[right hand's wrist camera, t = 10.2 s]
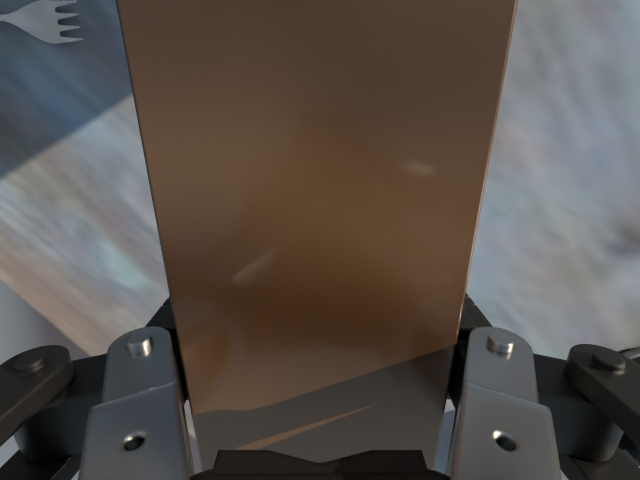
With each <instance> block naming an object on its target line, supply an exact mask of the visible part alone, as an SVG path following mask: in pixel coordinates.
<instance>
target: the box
mask: <svg viewBox="0 0 640 480" xmlns="http://www.w3.org/2000/svg"><path fill="white" fill-rule="evenodd" d="M116 3H117V9H118V14H119V20H120V25H121V31H122V36H123V42H124V47H125V53H126V58H127V64H128V69H129V75H130V80H131V86H132V91H133V97H134V102H135V108H136V113H137V118H138V124H139V129H140V135H141V140H142V146H143V151H144V157H145V162H146V168H147V173H148V179H149V184H150V190H151V195H152V201H153V206H154V212H155V217H156V223H157V228H158V234H159V239H160V244H161V250H162V255H163V261H164V266H165V272H166V277H167V283H168V288H169V294H170V299H171V305H172V310H173V316H174V321H175V327H176V332H177V338H178V343H179V349H180V354H181V360H182V365H183V370H184V376H185V381H186V387H187V392H188V398H189V403H190V409H191V414H192V420H193V425H194V431H195V436H196V442H197V447H198V453H199V458H200V464H201V469H202V472H203V471H206V470H209V469H213V466H214V463H215V459H216V456H217V453H218V450H270V451H274V452H278V453H282V454H286V455H289V456H293V457H297V458H301V459H305V460H309V461H312V462H317V463H323V462H328V461H331V460H335V459H339V458H343V457H347V456H351V455H354V454H358V453H362V452H366V451H370V450H422V453H423V456H424V459H425V463H426V466H427V469H431V470H434V466H435V460H436V455H437V449H438V444H439V438H440V432H441V427H442V421H443V416H444V410H445V404H446V399H447V393H448V388H449V382H450V377H451V371H452V365H453V360H454V354H455V349H456V343H457V338H458V332H459V326H460V321H461V315H462V310H463V304H464V298H465V293H466V287H467V282H468V276H469V271H470V265H471V259H472V254H473V248H474V243H475V237H476V232H477V226H478V220H479V215H480V209H481V204H482V198H483V192H484V187H485V181H486V176H487V170H488V165H489V159H490V153H491V148H492V142H493V137H494V131H495V126H496V120H497V114H498V109H499V103H500V98H501V92H502V86H503V81H504V75H505V70H506V64H507V59H508V53H509V47H510V42H511V36H512V31H513V25H514V20H515V14H516V8H517V3H518V0H116Z"/></svg>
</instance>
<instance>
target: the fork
mask: <svg viewBox="0 0 640 480" xmlns="http://www.w3.org/2000/svg"><path fill="white" fill-rule="evenodd" d="M75 2H77V1H76V0H66V1H54V0H39V1H35V2H32V3H30V4H28V5H26V6H24V7H22V8H20V9H18V10H16V11H14V12H12V13H9V14H0V21H5V22H9V23H11V24H14V25H16V26H17V27H19V28H21V29H23V30H24V31H26V32H28V33H29V34H31V35H33V36H34V37H36V38H38V39H40V40H42V41H44V42H47V43H51V44H58V43H67V42H74V41H79V40H83V38H70V37H62V36H60V32H62V31H66V30H72V29H77V28H81V26H69V25H59V24H58V23H57V21H58V20H59V19H64V18H69V17H73V16H77V15H79V14H78V13H57V12H56V11H55V8H57V7H60V6H64V5H68V4H72V3H75Z"/></svg>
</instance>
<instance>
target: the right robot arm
mask: <svg viewBox="0 0 640 480" xmlns="http://www.w3.org/2000/svg"><path fill="white" fill-rule="evenodd" d="M447 399H451V400H452V403H453V405H454V407H455V415H454V420H453V427H452V433H451V440H450V446H449V452H448V459H447V465H446V472H445V474H442V473H440V472H437V471H434V470H431V469H427V466H426V463H425V459H424V456H423V453H422V450H370V451H366V452H362V453H358V454H354V455H351V456H347V457H343V458H339V459H335V460H331V461H328V462H323V463H317V462H312V461H309V460H305V459H301V458H297V457H293V456H289V455H286V454H282V453H278V452H274V451H270V450H218V453H217V456H216V459H215V463H214V466H213V469H209V470H206V471H203V472H200V473H198V474H195V472H194V465H193V459H192V452H191V446H190V440H189V433H188V427H187V420H186V414H185V409H184V404H185V402H186V400H189V398H188V392H187V387H186V381H185V376H184V370H183V365H182V360H181V354H180V349H179V343H178V338H177V332H176V327H175V321H174V316H173V310H172V305H171V299H170V296H169V298H168V299H167V300H166V301H165V302H164V304H163V306H161V307H160V309H159V310H158V311H157V312H156V314H155V315H154V316H153V317H152V319H151V320H150V321H149V323H148V324H147V325H146V326H145V327H144V328H139V329H136V330H133V331H130V332H128V333H126V334H124V335H122V336H120V337H119V338H117V339H116V340H115V341H114V342H113V343H112V344H111V345H110V347H109V348H108V351H107V353H106V354H103V355H98V356H93V357H89V358H84V359H79V360H74V361H72V360H71V357H70V354H69V351H68V350H67V348H65V347H63V346H59V345H48V346H41V347H37V348H34V349H31V350H28V351H25V352H22V353H20V354H18V355H16V356H14V357H12V358H10V359H9V360H7V361H6V362H4V363H3V364H1V365H0V446H2V445H3V444H4V443H5V442H6V441H7V440H8V439H9V438H10V437H11V436H12V435H14V438H15V440H16V442H17V444H18V447H19V450H18V451H17V452H16V453H15V454H14V455H13V456H12V457H11V458H10V459H9V460H8V461H7V462H6V463H5V464H4V465H3V466H2V467H1V468H0V480H71V479H72V478H73V476H74V475H75V474H76V473H77V471H78V470H79V469H80V470H79V476H78V480H562V476H561V470H562V471H563V473H564V474H565V475H566V476H567V478H568V479H569V480H640V468H639V467H638V466H640V347H639V348H635V349H631V350H628V351H626V352H623V353H618V352H616V351H614V350H611V349H608V348H605V347H601V346H597V345H591V344H580V345H576V346H573V347H572V348H571V349H570V352H569V355H568V358H567V360H562V359H557V358H552V357H547V356H542V355H538V354H533V351H532V348H531V347H530V345H529V344H528V343H527V342H526V341H525V340H524V339H523V338H521V337H520V336H518V335H516V334H514V333H512V332H510V331H507V330H504V329H501V328H496V327H493V326H492V325H491V324H490V323H489V321H488V320H487V319H486V317H485V316H484V315H483V314H482V312H481V311H480V310H479V309H478V307H477V306H475V303H474V302H473V301H472V300H471V298H469V296H468V295H467V293H465V298H464V304H463V310H462V315H461V321H460V326H459V332H458V338H457V343H456V349H455V354H454V360H453V365H452V371H451V377H450V382H449V388H448V393H447ZM560 469H561V470H560Z"/></svg>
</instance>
